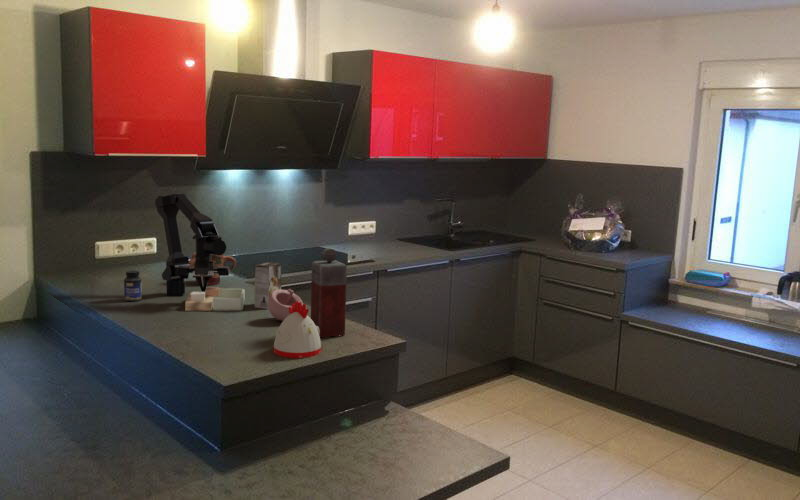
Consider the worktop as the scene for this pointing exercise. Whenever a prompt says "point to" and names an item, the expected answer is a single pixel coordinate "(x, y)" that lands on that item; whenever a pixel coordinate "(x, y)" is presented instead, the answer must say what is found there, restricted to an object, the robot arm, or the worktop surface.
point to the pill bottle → (132, 286)
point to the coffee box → (266, 282)
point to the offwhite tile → (198, 296)
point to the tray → (229, 300)
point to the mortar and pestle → (282, 303)
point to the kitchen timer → (297, 334)
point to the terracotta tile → (212, 291)
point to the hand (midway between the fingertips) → (203, 293)
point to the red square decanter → (329, 294)
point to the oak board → (199, 304)
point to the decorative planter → (217, 262)
